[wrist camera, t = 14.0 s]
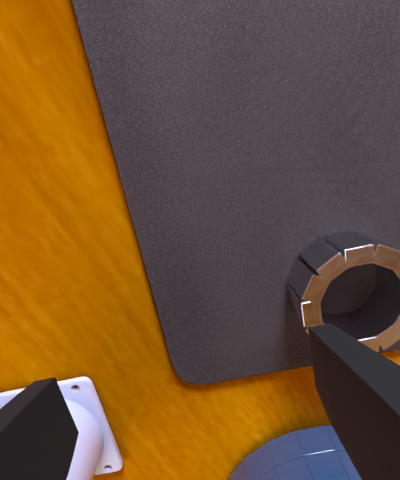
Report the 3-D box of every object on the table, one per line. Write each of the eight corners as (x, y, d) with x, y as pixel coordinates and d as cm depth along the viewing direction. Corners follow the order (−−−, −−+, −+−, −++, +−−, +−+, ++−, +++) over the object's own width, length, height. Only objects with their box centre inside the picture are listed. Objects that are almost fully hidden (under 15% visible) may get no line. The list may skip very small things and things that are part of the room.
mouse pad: (506, 327, 19) (509, 329, 19) (178, 387, 20) (178, 389, 19) (562, -212, 12) (569, -218, 12) (49, -84, 13) (46, -88, 12)
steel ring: (293, 337, 19) (308, 365, 16) (279, 243, 17) (294, 260, 14) (393, 317, 18) (425, 343, 16) (390, 220, 17) (425, 233, 14)
